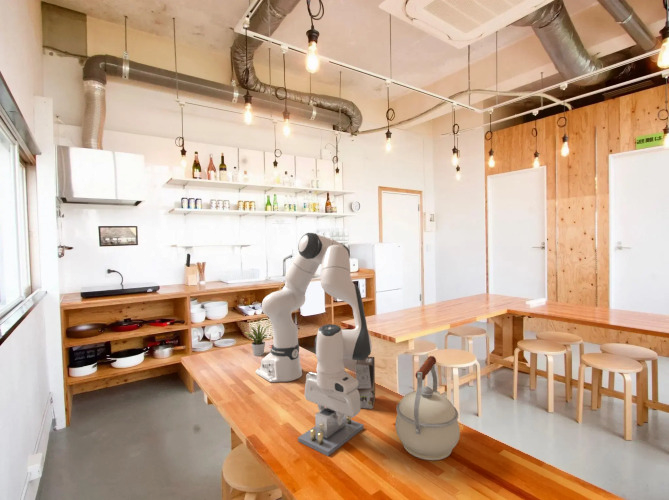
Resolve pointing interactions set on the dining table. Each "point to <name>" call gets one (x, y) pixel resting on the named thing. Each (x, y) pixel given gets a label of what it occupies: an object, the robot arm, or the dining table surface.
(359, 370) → the coffee box
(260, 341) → the house plant
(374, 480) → the dining table surface
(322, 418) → the block
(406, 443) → the kettle
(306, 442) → the pin tray
